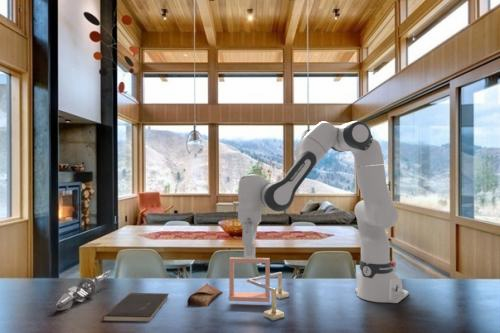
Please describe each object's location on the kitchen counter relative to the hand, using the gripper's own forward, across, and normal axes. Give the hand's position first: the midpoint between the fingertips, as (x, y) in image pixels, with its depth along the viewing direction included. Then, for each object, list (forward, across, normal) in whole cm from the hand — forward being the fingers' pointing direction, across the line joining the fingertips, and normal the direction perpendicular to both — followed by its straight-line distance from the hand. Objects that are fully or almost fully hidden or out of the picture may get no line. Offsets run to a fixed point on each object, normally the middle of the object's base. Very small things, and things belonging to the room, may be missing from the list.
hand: (249, 253), depth 132 cm
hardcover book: (+20, -7, +40) cm, 45 cm away
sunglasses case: (+20, +6, +18) cm, 27 cm away
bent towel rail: (+19, +1, -10) cm, 22 cm away
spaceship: (+19, +3, +65) cm, 68 cm away
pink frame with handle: (+17, 0, 0) cm, 17 cm away
